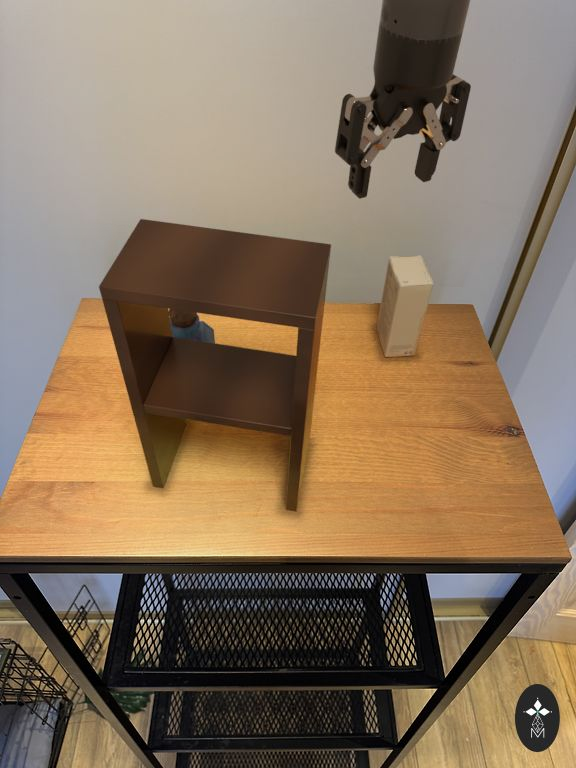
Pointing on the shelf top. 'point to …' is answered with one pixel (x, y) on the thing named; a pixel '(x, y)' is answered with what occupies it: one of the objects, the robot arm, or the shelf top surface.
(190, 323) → the perfume bottle
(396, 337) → the cosmetic box
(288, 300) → the walnut shelf
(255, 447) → the shelf top surface
